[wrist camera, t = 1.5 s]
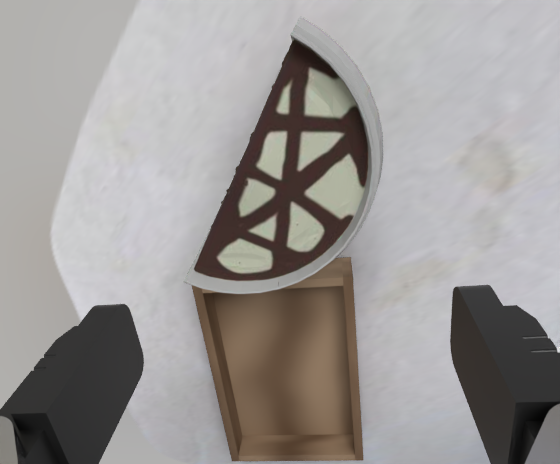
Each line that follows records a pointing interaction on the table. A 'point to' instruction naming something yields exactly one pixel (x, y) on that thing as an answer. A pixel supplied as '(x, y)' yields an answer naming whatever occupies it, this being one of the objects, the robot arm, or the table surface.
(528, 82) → the table surface
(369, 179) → the food container
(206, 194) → the table surface
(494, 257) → the table surface
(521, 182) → the table surface
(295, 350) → the walnut tray
